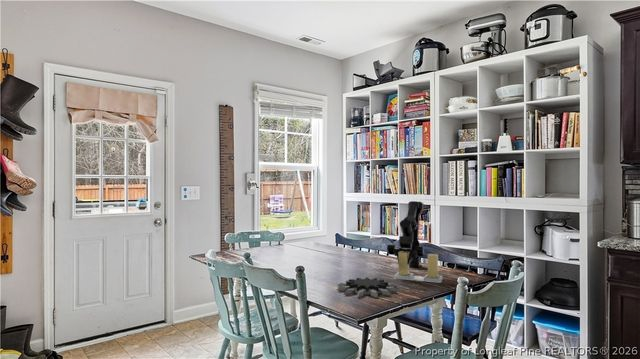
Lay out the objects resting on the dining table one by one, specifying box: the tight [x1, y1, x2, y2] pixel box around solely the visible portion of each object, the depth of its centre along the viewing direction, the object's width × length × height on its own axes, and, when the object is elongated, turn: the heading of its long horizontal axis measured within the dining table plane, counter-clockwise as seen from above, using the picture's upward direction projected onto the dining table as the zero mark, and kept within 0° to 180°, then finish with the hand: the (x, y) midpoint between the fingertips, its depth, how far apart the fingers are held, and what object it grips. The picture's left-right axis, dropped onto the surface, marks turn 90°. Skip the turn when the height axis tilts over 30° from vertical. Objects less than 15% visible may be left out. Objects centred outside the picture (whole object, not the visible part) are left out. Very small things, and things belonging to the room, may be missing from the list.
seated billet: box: [427, 253, 439, 279], centre depth 196 cm, size 4×4×12 cm
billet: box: [398, 251, 410, 276], centre depth 202 cm, size 4×4×12 cm
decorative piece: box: [336, 276, 400, 299], centre depth 181 cm, size 30×4×30 cm
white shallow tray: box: [393, 271, 443, 284], centre depth 199 cm, size 9×23×2 cm, turn 67°
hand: (403, 264), depth 200 cm, fingers closed on billet, 4 cm apart
